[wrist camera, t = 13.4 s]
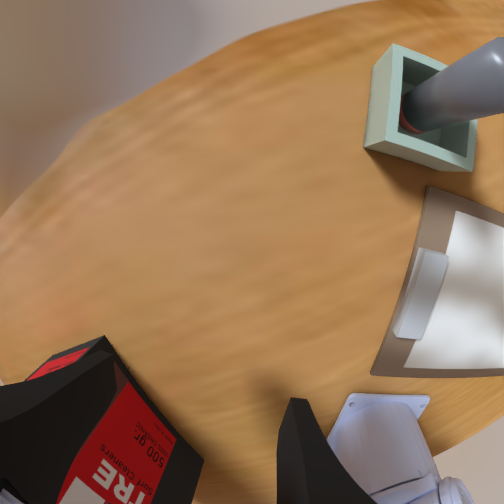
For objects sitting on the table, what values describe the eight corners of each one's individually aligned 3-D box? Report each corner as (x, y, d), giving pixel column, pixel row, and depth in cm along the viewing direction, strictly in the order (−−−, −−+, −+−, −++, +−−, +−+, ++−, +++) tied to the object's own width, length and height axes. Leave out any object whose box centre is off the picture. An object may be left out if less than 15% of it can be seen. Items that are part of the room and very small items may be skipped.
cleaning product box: (204, 459, 24) (155, 619, 5) (142, 463, 26) (84, 589, 7) (104, 335, 21) (-53, 506, 2) (52, 355, 23) (-69, 474, 4)
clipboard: (511, 372, 19) (517, 379, 17) (369, 372, 20) (373, 383, 18) (560, 241, 15) (569, 245, 14) (426, 185, 16) (436, 186, 15)
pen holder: (439, 171, 16) (473, 172, 12) (363, 147, 16) (384, 140, 12) (446, 94, 14) (477, 81, 10) (372, 67, 15) (393, 43, 11)
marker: (428, 139, 15) (541, 119, 5) (392, 127, 15) (494, 86, 5) (431, 102, 14) (535, 59, 4) (395, 89, 14) (487, 24, 5)
